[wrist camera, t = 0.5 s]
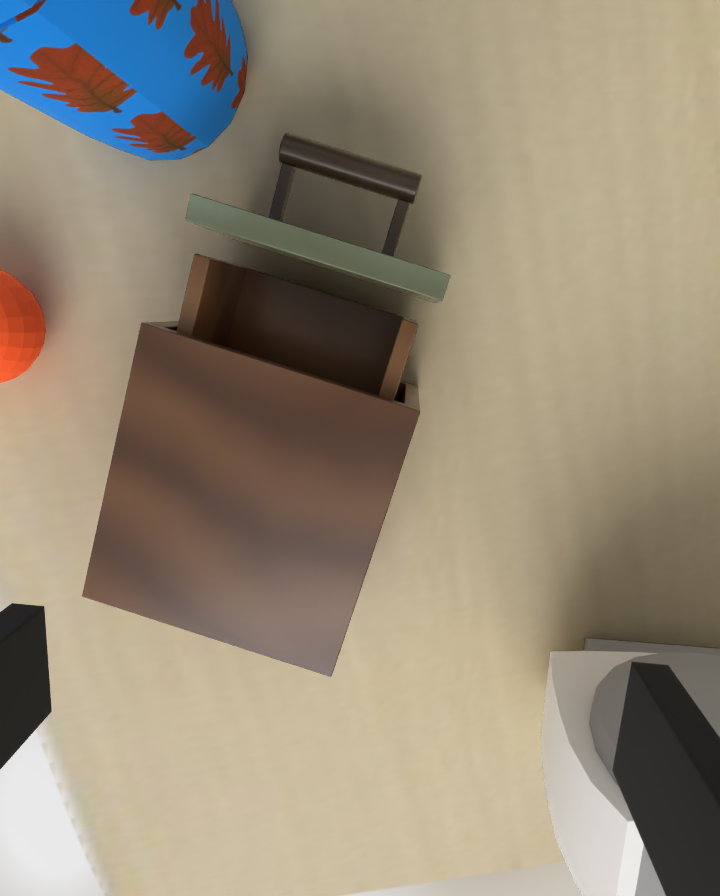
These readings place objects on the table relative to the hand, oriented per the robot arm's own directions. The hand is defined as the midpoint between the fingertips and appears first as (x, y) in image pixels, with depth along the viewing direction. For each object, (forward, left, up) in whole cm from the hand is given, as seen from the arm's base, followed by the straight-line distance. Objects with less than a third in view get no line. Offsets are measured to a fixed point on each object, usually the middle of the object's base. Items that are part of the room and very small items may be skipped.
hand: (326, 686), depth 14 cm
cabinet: (+2, -6, -26) cm, 26 cm away
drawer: (-7, -5, -25) cm, 26 cm away
